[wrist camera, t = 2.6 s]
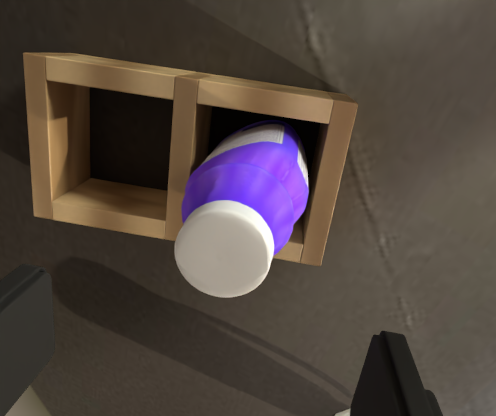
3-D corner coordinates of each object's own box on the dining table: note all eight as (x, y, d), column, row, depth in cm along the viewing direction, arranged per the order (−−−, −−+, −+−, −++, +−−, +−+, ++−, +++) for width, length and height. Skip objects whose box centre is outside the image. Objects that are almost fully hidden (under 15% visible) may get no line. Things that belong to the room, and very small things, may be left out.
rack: (74, 191, 35) (33, 216, 30) (71, 52, 31) (22, 52, 26) (316, 232, 34) (320, 266, 29) (346, 94, 30) (358, 103, 24)
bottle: (234, 202, 34) (179, 335, 18) (205, 141, 33) (115, 228, 16) (315, 170, 32) (334, 286, 16) (288, 105, 31) (280, 160, 15)
